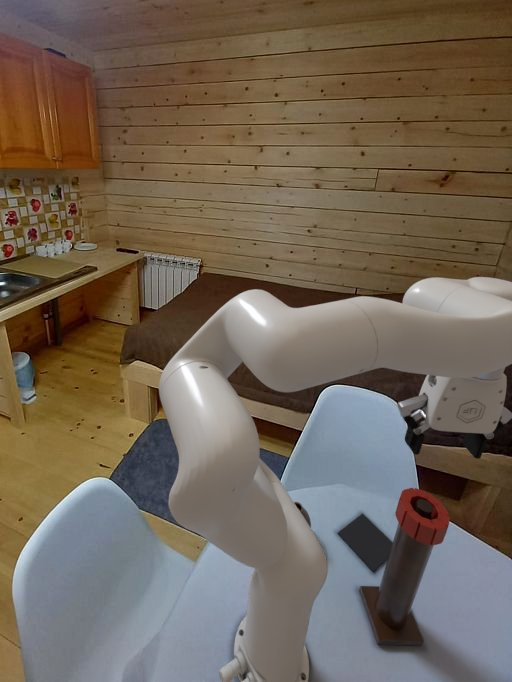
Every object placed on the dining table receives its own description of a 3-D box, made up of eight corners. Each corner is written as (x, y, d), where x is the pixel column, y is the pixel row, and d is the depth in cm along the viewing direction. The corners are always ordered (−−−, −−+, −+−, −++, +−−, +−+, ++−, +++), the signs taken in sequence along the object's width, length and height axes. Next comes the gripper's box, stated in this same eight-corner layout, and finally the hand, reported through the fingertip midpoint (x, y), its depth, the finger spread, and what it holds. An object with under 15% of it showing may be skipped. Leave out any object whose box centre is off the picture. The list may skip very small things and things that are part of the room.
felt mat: (372, 572, 71) (373, 571, 71) (337, 533, 78) (337, 532, 78) (398, 549, 75) (398, 547, 75) (362, 514, 83) (362, 513, 83)
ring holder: (377, 644, 60) (413, 530, 51) (358, 590, 68) (387, 482, 58) (422, 645, 60) (467, 532, 51) (398, 591, 68) (434, 483, 58)
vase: (301, 558, 73) (306, 529, 70) (272, 537, 77) (276, 509, 74) (313, 531, 78) (318, 504, 76) (285, 513, 82) (289, 486, 79)
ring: (430, 554, 51) (436, 538, 50) (386, 515, 57) (391, 499, 56) (452, 531, 55) (458, 515, 54) (409, 496, 60) (414, 481, 59)
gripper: (427, 371, 47) (399, 465, 53) (554, 378, 47) (512, 472, 53) (400, 343, 54) (378, 429, 60) (510, 350, 54) (478, 435, 60)
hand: (441, 449), depth 56 cm, fingers open, 9 cm apart
